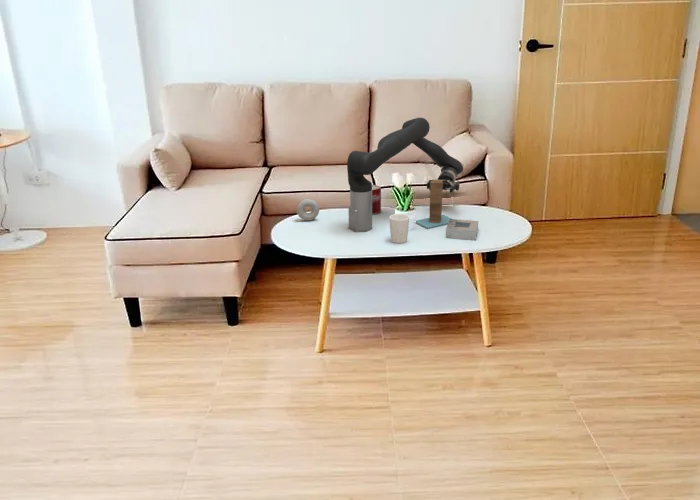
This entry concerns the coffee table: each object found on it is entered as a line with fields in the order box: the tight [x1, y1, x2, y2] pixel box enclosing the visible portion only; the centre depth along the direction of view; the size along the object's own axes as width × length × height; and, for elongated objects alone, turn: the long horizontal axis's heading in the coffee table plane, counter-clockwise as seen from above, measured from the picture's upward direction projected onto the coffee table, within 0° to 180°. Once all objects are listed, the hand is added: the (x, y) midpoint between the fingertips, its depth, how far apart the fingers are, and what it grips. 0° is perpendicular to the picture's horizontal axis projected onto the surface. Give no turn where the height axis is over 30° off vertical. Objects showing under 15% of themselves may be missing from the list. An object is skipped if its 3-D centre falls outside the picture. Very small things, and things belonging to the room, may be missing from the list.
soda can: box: [372, 184, 382, 215], centre depth 284 cm, size 7×7×12 cm
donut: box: [296, 198, 320, 222], centre depth 276 cm, size 10×3×10 cm, turn 98°
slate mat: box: [415, 214, 453, 230], centre depth 273 cm, size 16×10×1 cm, turn 119°
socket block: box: [445, 218, 479, 241], centre depth 259 cm, size 12×12×4 cm
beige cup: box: [389, 213, 410, 244], centre depth 253 cm, size 8×8×10 cm
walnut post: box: [428, 179, 444, 223], centre depth 269 cm, size 5×5×18 cm
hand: (440, 190), depth 274 cm, fingers open, 8 cm apart
